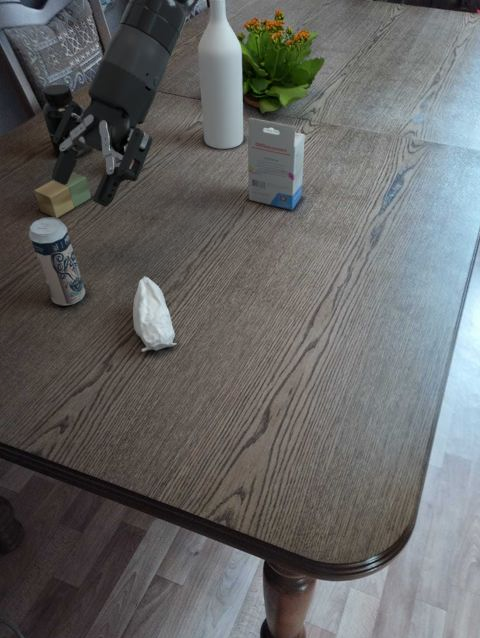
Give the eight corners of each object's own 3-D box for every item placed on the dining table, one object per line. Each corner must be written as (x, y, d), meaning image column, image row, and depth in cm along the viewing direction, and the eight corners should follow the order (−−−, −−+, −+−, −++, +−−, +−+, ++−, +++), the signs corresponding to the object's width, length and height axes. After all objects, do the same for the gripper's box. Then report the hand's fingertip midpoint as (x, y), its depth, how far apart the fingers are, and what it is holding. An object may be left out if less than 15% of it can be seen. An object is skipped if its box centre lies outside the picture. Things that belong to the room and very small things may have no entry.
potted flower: (193, 111, 122) (186, 24, 110) (229, 74, 138) (226, -7, 125) (302, 127, 117) (308, 37, 105) (326, 86, 133) (334, 3, 120)
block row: (40, 211, 94) (33, 190, 91) (124, 163, 106) (120, 143, 103) (56, 218, 93) (50, 197, 90) (139, 169, 105) (136, 149, 102)
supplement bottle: (47, 155, 108) (29, 93, 99) (66, 140, 112) (50, 79, 104) (77, 161, 106) (62, 98, 98) (96, 146, 111) (82, 84, 102)
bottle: (232, 152, 109) (226, -26, 88) (197, 144, 112) (182, -32, 90) (250, 135, 114) (248, -37, 93) (215, 128, 117) (206, -42, 95)
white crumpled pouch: (127, 321, 77) (141, 356, 69) (125, 276, 74) (140, 308, 66) (161, 318, 79) (179, 352, 71) (161, 274, 76) (180, 304, 68)
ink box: (302, 197, 98) (308, 114, 87) (292, 211, 95) (296, 127, 84) (259, 186, 100) (259, 105, 90) (247, 200, 97) (246, 117, 87)
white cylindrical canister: (78, 309, 77) (55, 238, 68) (46, 306, 78) (19, 234, 69) (91, 288, 80) (71, 217, 72) (60, 284, 81) (36, 213, 72)
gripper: (72, 46, 70) (22, 164, 72) (150, 73, 63) (93, 202, 66) (113, 77, 76) (66, 185, 78) (187, 105, 70) (134, 221, 72)
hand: (78, 192), depth 72 cm, fingers open, 8 cm apart
